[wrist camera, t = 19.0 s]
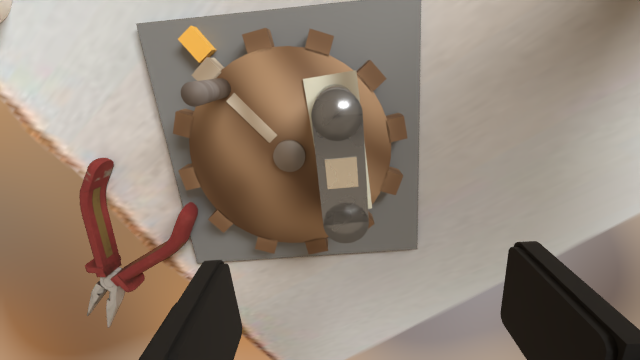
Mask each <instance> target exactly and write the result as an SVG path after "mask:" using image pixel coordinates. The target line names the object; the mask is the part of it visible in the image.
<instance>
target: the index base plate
mask: <svg viewBox="0 0 640 360" xmlns="http://www.w3.org/2000/svg"><path fill="white" fill-rule="evenodd" d="M136 25H137V29H138V33H139V37H140V40H141V44H142V48H143V52H144V56H145V60H146V64H147V68H148V72H149V76H150V80H151V83H152V87H153V91H154V95H155V99H156V103H157V107H158V111H159V115H160V119H161V122H162V126H163V130H164V134H165V138H166V142H167V146H168V150H169V154H170V158H171V162H172V165H173V169H174V173H175V177H176V181H177V185H178V189H179V193H180V197H181V201H182V205H183V208H184V206H185V205H186V204H188V203H189V202H193V203H194V204H195V205H196V206H197V208H198V215H197V218H196V220H195V223H194V226H193V228H192V231H191V234H190V236H191V240H192V244H193V247H194V251H195V255H196V259H197V263H203V262H204V261H208V260H222V261H239V260H255V259H270V258H286V257H301V256H317V255H332V254H348V253H363V252H379V251H395V250H410V249H417V232H418V168H419V105H420V41H421V0H358V1H349V2H339V3H329V4H320V5H310V6H301V7H291V8H282V9H272V10H262V11H253V12H243V13H234V14H224V15H215V16H205V17H195V18H186V19H176V20H167V21H157V22H148V23H138V24H136ZM263 28H267V29H269V30H270V32H271V35H272V39H273V42H274V46H275V47H280V46H293V47H303V48H305V45H306V41H307V37H308V33H309V29H313V30H317V31H320V32H323V33H326V34H329V35H333V36H334V39H333V42H332V46H331V50H330V53H329V55H330V56H332V57H334V58H336V59H337V60H339V61H341V62H343V63H344V64H346V65H347V66H348V67H350V68H351V69H352V70H356V71H357V70H358V69H359V68H360V67H361V66H362V65H364V64H365V63H366V62H367V61H368V60H371V61H372V62H373V63H374V65H375V66H376V67H377V68H378V69H379V70H380V71H381V73H382V74H383V75H384V76H385V77H386V78H387V79H386V80H385V81H384V82H383V83H382V84H381V85H380V86H379V87H377V88H376V89H375V90H374V91H373V92H374V93H375V95H376V97H377V99H378V100H379V102H380V104H381V106H382V108H383V111H384V113H385V116H387V115H391V114H396V113H400V114H402V115H403V116H404V119H405V125H406V131H407V139H403V140H399V141H395V142H391V159H390V165H389V166H390V167H393V168H397V169H399V170H400V172H401V173H402V174H403V178H402V181H401V183H400V186H399V188H398V191H397V193H396V195H392V194H389V193H385V192H382V191H381V192H380V194H379V195H378V197H377V198H376V200H375V202H374V203H373V204H372V208H371V209H368V211H369V212H370V213H371V214H372V216H373V220H374V223H375V224H374V225H372V226H371V227H370V228H369V229H368V230H367V232H366V233H365V235H364V236H363V237H362V238H361V239H359V240H358V241H355V242H353V243H339V242H336V241H334V240H332V239H331V238H330V237H327V238H328V251H325V252H320V253H315V254H310V255H309V254H308V251H307V248H306V244H305V242H304V243H286V242H278V243H277V246H276V250H275V253H274V254H273V253H269V252H265V251H261V250H257V249H255V247H256V243H257V239H258V236H255V235H253V234H251V233H249V232H246V231H244V230H243V229H241V228H239V227H238V226H236V225H234V224H233V225H231V226H230V227H229V228H228V229H227V230H226V231H225V232H224V233H223V232H222V231H221V230H220V229H219V228H217V227H216V226H215V225H214V224H213V223H211V222H210V221H209V220H208V219H209V218H210V216H211V215H212V214H213V212H214V211H215V210H216V208H215V207H214V206H213V204H212V203H211V202H210V201H209V199H208V198H207V196H206V195H205V193H204V192H203V190H202V188H201V187H199V188H195V189H191V190H186V189H185V186H184V184H183V181H182V179H181V177H180V174H179V172H178V171H179V170H180V169H181V168H183V167H184V166H186V165H187V164H191V163H192V161H191V156H190V146H189V138H187V137H183V136H180V135H176V134H173V128H174V120H175V112H176V111H179V110H182V109H189V110H192V111H194V110H195V107H192V106H189V105H187V104H186V103H185V102H184V101H183V99H182V97H181V88H182V86H183V85H184V84H185V83H187V82H193V81H197V80H196V79H195V78H194V77H193V76H192V74H193V73H194V72H195V70H196V69H197V68H198V67H199V66H200V64H201V63H202V62H203V61H204V60H205V59H206V57H210V58H215V59H216V60H217V61H218V62H219V63H220V64H221V65H222V66H223V67H224V68H225V67H226V66H227V65H229V64H230V63H231V62H233V61H234V60H236V59H238V58H240V57H242V56H244V55H246V54H248V53H247V50H246V47H245V43H244V40H243V37H242V34H245V33H249V32H253V31H256V30H260V29H263Z"/></svg>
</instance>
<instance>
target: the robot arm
mask: <svg viewBox="0 0 640 360" xmlns="http://www.w3.org/2000/svg"><path fill="white" fill-rule="evenodd" d="M501 319H502V322H503V324H504V326H505V327H506V329H507V330H508V332H509V333H510V335H511V336H512V338H513V339H514V341H515V342H516V344H517V345H518V347H519V348H520V350H521V352H522V353H523V354H524V356H525V357H526V359H527V360H640V330H639V329H638V328H637V327H636V326H634V325H633V324H632V323H631V322H630V321H628V320H627V319H626V318H625V317H624V316H623V315H622V314H621V313H619V312H618V311H617V310H616V309H615V308H614V307H612V306H611V305H610V304H609V303H608V302H607V301H605V300H604V299H603V298H602V297H601V296H600V295H599V294H597V293H596V292H595V291H594V290H593V289H591V288H590V287H589V286H588V285H587V284H586V283H584V281H582V280H581V279H580V278H579V277H578V276H577V275H575V274H574V273H573V272H572V271H571V270H570V269H569V268H567V267H566V266H565V265H564V264H563V263H562V262H560V261H559V260H558V259H557V258H556V257H555V256H554V255H552V254H551V253H550V252H549V251H548V250H547V249H545V248H544V247H543V246H542V245H541V244H540V243H538V242H536V241H531V242H517V243H515V245H514V247H511V248H510V249H509V253H508V260H507V268H506V276H505V283H504V291H503V298H502V306H501ZM241 335H242V323H241V318H240V314H239V309H238V305H237V300H236V296H235V291H234V287H233V282H232V278H231V273H230V269H229V265H228V264H224V262H223V261H222V260H208V261H204V262H203V263H202V265H201V266H200V268H199V269H198V271H197V272H196V274H195V276H194V277H193V279H192V280H191V282H190V283H189V285H188V286H187V288H186V290H185V291H184V293H183V294H182V296H181V298H180V299H179V301H178V302H177V303H176V304H175V305H174V306H173V307H172V309H171V310H170V312H169V313H168V315H167V317H166V318H165V320H164V321H163V323H162V325H161V326H160V327H159V329H158V331H157V332H156V334H155V335H154V337H153V338H152V340H151V341H150V343H149V344H148V346H147V348H146V349H145V351H144V352H143V354H142V355H141V357H140V358H139V360H233V359H234V356H235V353H236V350H237V347H238V344H239V341H240V338H241Z"/></svg>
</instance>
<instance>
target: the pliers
mask: <svg viewBox="0 0 640 360" xmlns="http://www.w3.org/2000/svg"><path fill="white" fill-rule="evenodd" d="M112 169H113V161H112V160H110V159H108V158H99V159H96V160H94V161H92V162H91V163H90V165H89V166H88V169H87V172H86V175H85V177H84V180H83V184H82V186H81V189H80V206H81V212H82V216H83V220H84V224H85V228H86V231H87V235H88V238H89V242H90V245H91V249H92V253H93V256H94V259H93V260H92V261H90V262H89V263H87V264H86V265H85V268H86V271H87V272H88V273H96V275H97V277H100V281H99V282H98V283H97V284H96V285H95V287H94V288H93V290H92V293H91V298H90V303H89V308H88V313H87V316H88V315H89V314H90V313H91V312H92V310H93V309H94V308H95V306H96V305H97V304H98V302H99V301H100V300H101V298H102V297H103V296H104V294H105V293H106V292H107V290H108V291H110V295H109V298H108V299H107V305H106V312H107V326H108V328H109V327H110V325H111V324H112V321H113V319H114V317H115V315H116V313H117V311H118V309H119V306H120V304H121V302H122V300H123V297H124V293H125V291H126V292H131V291H133V290H135V289H136V288H137V287H138V286H139V285H140V284H141V283H142V282H143V281H144V274H143V273H142V272H144V271H146V270H147V269H149V268H151V267H152V266H154V265H156V264H158V263H159V262H161V261H163V260H164V259H166V258H168V257H170V256H171V255H173V254H174V253H175V252H177V251H178V250H179V249H180V248H181V247H182V246H183V245H184V244H185V243H186V242H187V240H188V239H189V237H190V234H191V231H192V228H193V226H194V223H195V220H196V218H197V215H198V208H197V206H196V205H195V204H194V203H193V202H189V203H188V204H186V205H185V206H184V208H183V209H182V210H181V212H180V214H179V216H178V218H177V221H176V224H175V226H174V229H173V232H172V235H171V237H170V239H169V240H168V241H167V242H165V243H163V244H162V245H160V246H158V247H157V248H155V249H153V250H152V251H150V252H148V253H147V254H145V255H143V256H142V257H140V258H138V259H137V260H135V261H133V262H132V263H130V264H129V265H127V266H125V267H124V268H123V269H122V268H120V267H119V266H120V265H121V257H120V255H119V253H118V249H117V245H116V241H115V237H114V233H113V229H112V225H111V221H110V217H109V213H108V209H107V205H106V194H105V193H106V186H107V183H108V180H109V177H110V174H111V171H112Z"/></svg>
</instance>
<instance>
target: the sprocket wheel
mask: <svg viewBox="0 0 640 360" xmlns="http://www.w3.org/2000/svg"><path fill="white" fill-rule="evenodd" d="M242 37H243V40H244V43H245V47H246V50H247V53H248V54H246V55H244V56H242V57H240V58H238V59H236V60H234V61H233V62H231V63H230V64H229V65H227V66H226V67H225V68H224V67H223V66H222V65H221V64H220V63H219V62H218V61H217V60H216V59H215V58H210V57H206V59H205V60H204V61H203V62H202V63H201V64H200V66H199V67H198V68H197V69H196V70H195V72H194V73H193V74H192V76H193V77H194V78H195V79H196V80H197V81H193V82H187V83H185V84H184V85H183V86H182V88H181V97H182V99H183V101H184V102H185V103H186V104H187V105H189V106H192V107H195V110H194V111H192V110H189V109H182V110H179V111H176V112H175V120H174V128H173V134H176V135H180V136H183V137H187V138H189V146H190V156H191V161H192V163H191V164H187V165H186V166H184V167H183V168H181V169H180V170H179V171H178V172H179V174H180V177H181V179H182V181H183V184H184V186H185V189H186V190H191V189H195V188H199V187H201V188H202V190H203V192H204V193H205V195H206V196H207V198H208V199H209V201H210V202H211V203H212V204H213V206H214V207H215V208H216V210H215V211H214V212H213V214H212V215H211V216H210V218H209V219H208V220H209V221H210V222H211V223H213V224H214V225H215V226H216V227H217V228H219V229H220V230H221V231H222V232H223V233H224V232H225V231H226V230H227V229H228V228H229V227H230V226H231V225H233V224H234V225H236V226H238V227H239V228H241V229H243V230H244V231H246V232H249V233H251V234H253V235H255V236H258V239H257V243H256V247H255V249H257V250H261V251H265V252H269V253H273V254H274V253H275V250H276V246H277V243H278V242H286V243H304V242H305V244H306V248H307V251H308V254H309V255H310V254H315V253H320V252H325V251H328V238H327V237H329V236H328V235H327V234H326V232H325V230H324V226H323V218H322V209H321V200H320V191H319V182H318V173H317V164H316V155H315V145H314V136H313V127H312V118H311V114H312V108H313V105H314V102H315V99H316V97H317V95H318V93H319V92H320V91H321V90H322V89H323V88H324V87H326V86H328V85H331V84H339V85H343V86H345V87H346V88H348V89H349V90H350V91H351V92H352V93H353V95H354V96H355V97H356V98H357V99H358V101H359V102H360V104H361V107H362V111H363V127H364V145H365V162H366V180H367V198H368V209H371V208H372V204H373V203H374V202H375V200H376V198H377V197H378V195H379V194H380V192H381V191H382V192H385V193H389V194H392V195H396V193H397V191H398V188H399V186H400V183H401V181H402V178H403V174H402V173H401V172H400V170H399V169H397V168H393V167H390V166H389V165H390V159H391V142H395V141H399V140H403V139H407V131H406V125H405V119H404V116H403V115H402V114H400V113H396V114H391V115H387V116H385V113H384V111H383V108H382V106H381V104H380V102H379V100H378V99H377V97H376V95H375V93H374V92H373V91H374V90H375V89H376V88H377V87H379V86H380V85H381V84H382V83H383V82H384V81H385V80H386V79H387V78H386V77H385V76H384V75H383V74H382V73H381V71H380V70H379V69H378V68H377V67H376V66H375V65H374V63H373V62H372V61H371V60H368V61H367V62H366V63H365V64H364V65H362V66H361V67H360V68H359V69H358V70H357V71H356V70H352V69H351V68H350V67H348V66H347V65H346V64H344V63H343V62H341V61H339V60H337V59H336V58H334V57H332V56H330V55H329V53H330V50H331V46H332V42H333V39H334V36H333V35H329V34H326V33H323V32H320V31H317V30H313V29H309V33H308V37H307V41H306V45H305V48H303V47H293V46H280V47H275V46H274V42H273V39H272V35H271V32H270V30H269V29H267V28H263V29H260V30H256V31H253V32H249V33H245V34H242ZM368 216H369V226H368V229H369V228H370V227H371V226H372V225H374V224H375V223H374V220H373V216H372V214H371V213H370V212H369V211H368Z"/></svg>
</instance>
